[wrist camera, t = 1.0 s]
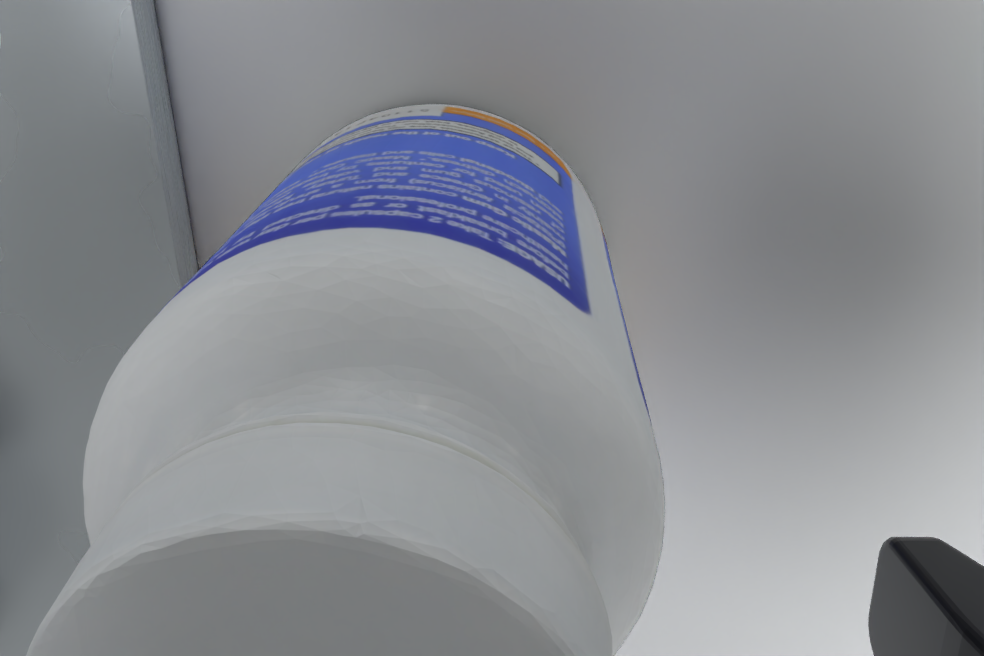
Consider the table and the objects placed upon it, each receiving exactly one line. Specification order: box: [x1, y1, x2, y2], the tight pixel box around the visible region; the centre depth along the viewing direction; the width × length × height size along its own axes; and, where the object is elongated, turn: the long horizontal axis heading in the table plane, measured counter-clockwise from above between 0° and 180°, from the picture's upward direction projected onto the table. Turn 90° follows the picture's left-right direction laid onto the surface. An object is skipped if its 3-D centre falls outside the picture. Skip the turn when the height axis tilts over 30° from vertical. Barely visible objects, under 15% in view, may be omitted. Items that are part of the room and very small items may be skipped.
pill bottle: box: [26, 104, 665, 656], centre depth 10 cm, size 5×5×10 cm
